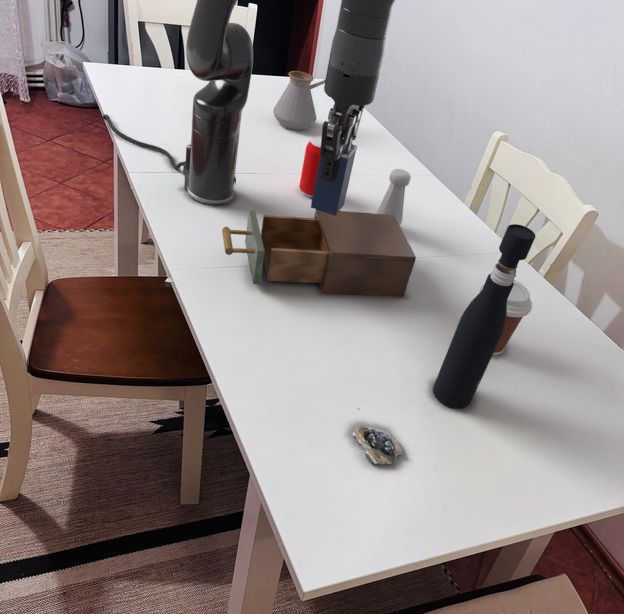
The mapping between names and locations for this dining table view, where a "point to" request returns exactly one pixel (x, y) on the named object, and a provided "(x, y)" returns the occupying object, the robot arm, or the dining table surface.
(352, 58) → the robot arm
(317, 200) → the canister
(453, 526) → the dining table surface
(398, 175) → the salt shaker
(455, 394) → the black bottle
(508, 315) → the coffee cup
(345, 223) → the cabinet
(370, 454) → the mineral rock
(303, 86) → the coffee pot
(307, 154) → the beverage can
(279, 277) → the drawer
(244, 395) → the dining table surface
